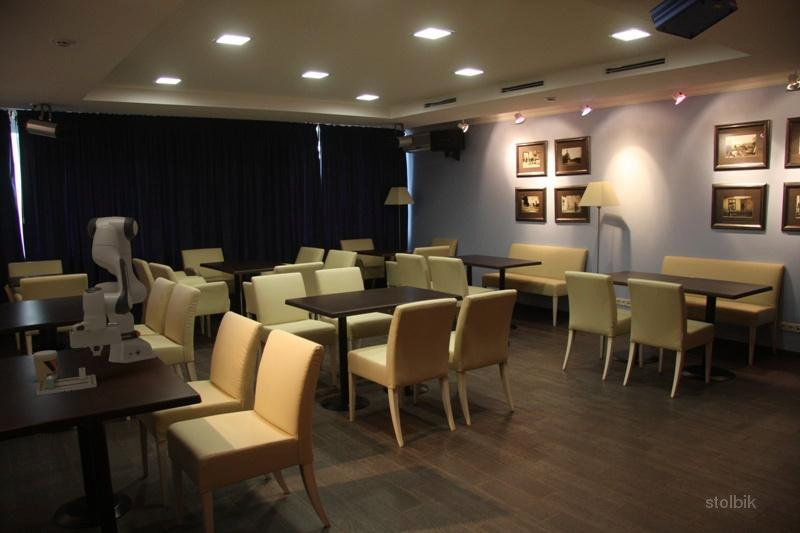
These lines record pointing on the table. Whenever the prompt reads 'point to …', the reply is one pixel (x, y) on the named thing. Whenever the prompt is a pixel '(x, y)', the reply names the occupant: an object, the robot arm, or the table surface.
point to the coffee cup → (45, 364)
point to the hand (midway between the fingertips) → (97, 355)
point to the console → (67, 385)
